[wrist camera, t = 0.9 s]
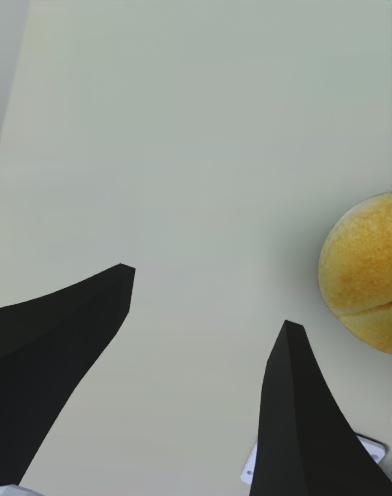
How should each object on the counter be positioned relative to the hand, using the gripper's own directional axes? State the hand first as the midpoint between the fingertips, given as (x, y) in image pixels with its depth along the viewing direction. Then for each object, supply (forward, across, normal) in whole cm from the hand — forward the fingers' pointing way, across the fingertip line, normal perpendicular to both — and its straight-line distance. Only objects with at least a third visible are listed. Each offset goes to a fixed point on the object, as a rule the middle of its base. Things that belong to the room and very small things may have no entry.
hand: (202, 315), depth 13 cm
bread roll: (+10, -9, 0) cm, 13 cm away
